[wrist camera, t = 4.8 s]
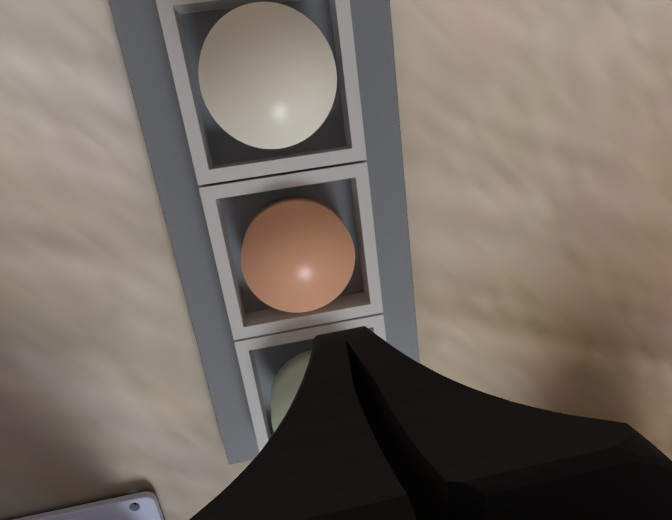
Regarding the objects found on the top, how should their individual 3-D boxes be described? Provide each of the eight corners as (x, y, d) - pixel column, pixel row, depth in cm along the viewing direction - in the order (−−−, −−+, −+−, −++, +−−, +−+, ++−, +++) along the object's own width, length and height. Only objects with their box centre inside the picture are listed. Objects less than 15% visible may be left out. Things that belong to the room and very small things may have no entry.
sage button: (280, 442, 21) (281, 468, 19) (262, 358, 19) (262, 379, 18) (373, 422, 21) (382, 446, 20) (363, 339, 20) (371, 358, 18)
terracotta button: (253, 305, 20) (252, 321, 18) (232, 205, 18) (230, 213, 17) (354, 287, 20) (361, 301, 19) (341, 188, 19) (347, 195, 17)
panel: (230, 453, 23) (226, 486, 21) (110, -14, 16) (88, -32, 14) (419, 413, 24) (434, 441, 22) (380, -44, 17) (395, -65, 15)
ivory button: (219, 154, 17) (215, 158, 15) (191, 20, 15) (183, 10, 14) (337, 136, 17) (344, 139, 16) (321, 5, 16) (327, -6, 14)
